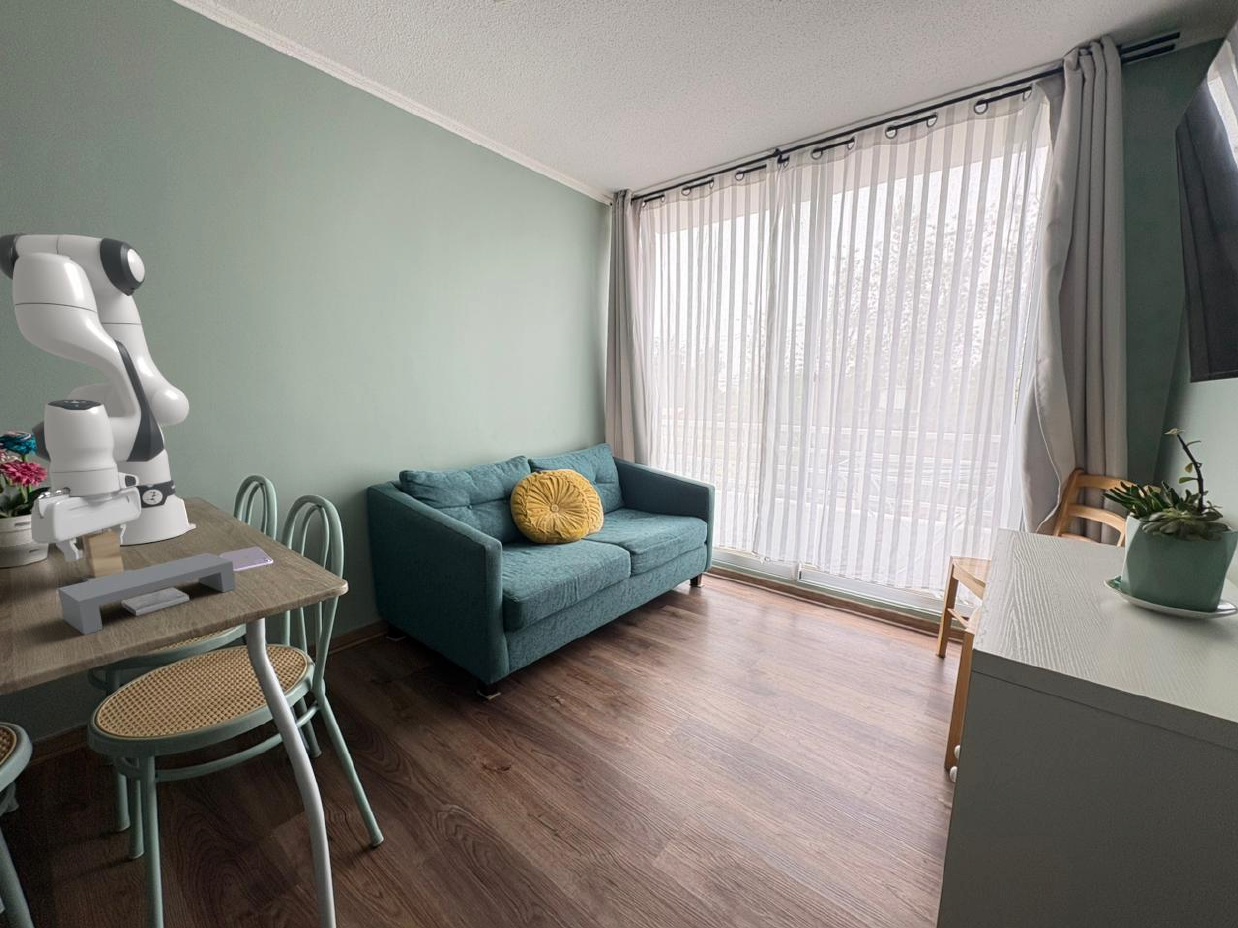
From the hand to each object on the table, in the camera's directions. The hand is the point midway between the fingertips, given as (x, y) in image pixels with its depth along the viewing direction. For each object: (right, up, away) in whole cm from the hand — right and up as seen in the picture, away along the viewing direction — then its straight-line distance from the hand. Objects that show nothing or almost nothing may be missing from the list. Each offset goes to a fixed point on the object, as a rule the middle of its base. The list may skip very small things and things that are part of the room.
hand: (95, 552), depth 95 cm
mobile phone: (+20, -4, +13) cm, 24 cm away
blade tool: (+5, -6, -1) cm, 8 cm away
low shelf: (+21, -7, -10) cm, 24 cm away
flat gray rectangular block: (+21, -8, -10) cm, 25 cm away
